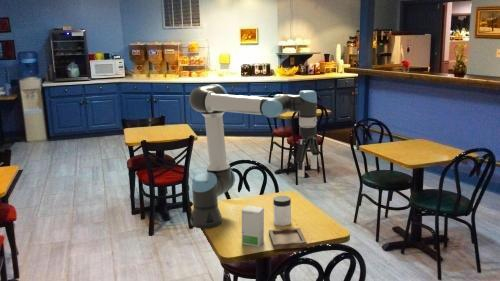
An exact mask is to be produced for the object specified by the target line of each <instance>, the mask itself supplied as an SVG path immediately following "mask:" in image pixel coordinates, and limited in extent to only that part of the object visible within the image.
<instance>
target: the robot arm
mask: <svg viewBox="0 0 500 281" xmlns="http://www.w3.org/2000/svg"><path fill="white" fill-rule="evenodd" d="M188 102H189V104H190V107H191V109H193V110H194V111H195V112H198V113H200V114H201V115H202V116H203V117H204V122H205V123H204V124H205V133H206V141H207V143H206V144H207V152H208V154H207V155H208V163H209V164H208V166H206V172H202V173H198V174H196V175H194V176H193V178H192V180H191V190H192V205H193V206H192V211H191V212H192V213H191V216H190V226H192V227H194V228H195V229H202V230H203V229H213V228H216V227H219V226H220V225H221V224H223V216H222V214H221V211H220V209H219V204H218V203H219V202H218V198H219V196H221V195H223V194H225V193H227V192H228V191H230V190H231V189H232V188H233V187H234V185H235V182H236V175H235V173H234V171H233V169H231V165H230V164H228V162H227V153H226V152H227V151H226V143H225V142H226V141H225V130H224V129H225V128H224V119H223V118H224V116H223V115H224V114H226V112H227V113H234V114H235V113H236V114H237V113H238V114H248V115H256V116H257V115H261V116H265V117H267V118H277V117H278V116H280V115H283V114H286V113H298V125H299V127H298V128H299V129H298V131H299V132H298V134H299V136H301V139H298V145H297V151H296V155H295V159H294V160H295V161H294V162H295V163H297V177H299V178H305V162H304V160H305V157H306V155H307V151H308V150H309V151H310V153H311V154H310V169H311V170H317V169H318V156H319V155H320V147H319V144H318V139H317V136H318V135H317V122H318V119H317V115H318V114H317V112H318V111H317V110H318V108H317V107H318V106H317V105H318V100H317V92H316V91H315V90H309V89H308V90H307V89H306V90H300V91H299V93H298V94H285V93H282V94H281V93H280V94H275V95H274V96H273V97H264V96H252V95H237V94H236V95H235V94H229V93H228V92H227V90H226V89H225V88H224V86H222V85H221V84H216V83H215V84H212V83H211V84H207V85H204V86H198V87H196V88H194V89H193V90H192V91H191V93H190V94H189V99H188Z"/></svg>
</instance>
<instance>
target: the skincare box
mask: <svg viewBox="0 0 500 281" xmlns="http://www.w3.org/2000/svg"><path fill="white" fill-rule="evenodd" d="M264 225H265V207H259V206H255V205H254V206H253V205H248V204H247V205H245V206H244V207H243V208H242V210H241V244H242V245H247V246H253V247H257V248H258V247H260V246H261V245H262V243H263V242H264V238H265V236H264V235H265V234H264V232H265V230H264V227H265V226H264Z"/></svg>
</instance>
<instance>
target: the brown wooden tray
mask: <svg viewBox="0 0 500 281" xmlns="http://www.w3.org/2000/svg"><path fill="white" fill-rule="evenodd" d="M268 236H269V239H270V242H271V245H272V248H273V250H282V249H296V248H297V249H298V248H307V247H308V242H307V240H306V238H305V236H304V234H303V232H302V230H301V227H291V228H290V227H289V228H277V229H276V228H275V229H268Z"/></svg>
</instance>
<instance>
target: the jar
mask: <svg viewBox="0 0 500 281" xmlns="http://www.w3.org/2000/svg"><path fill="white" fill-rule="evenodd" d="M272 201H273V205H272V206H273V207H272V208H273V210H272V211H273V223H274V226H275V225H276V226H281V227H284V226H287V225H291V224H292V205H291V204H292V201H291V197H289V196H287V195H278V196H275V197H273V200H272Z"/></svg>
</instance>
